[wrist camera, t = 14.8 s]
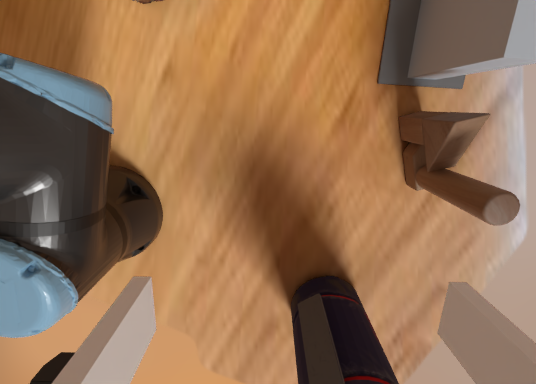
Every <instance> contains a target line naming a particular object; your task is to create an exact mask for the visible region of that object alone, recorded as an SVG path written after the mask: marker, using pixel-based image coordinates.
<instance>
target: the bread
mask: <svg viewBox="0 0 536 384" xmlns="http://www.w3.org/2000/svg"><path fill="white" fill-rule="evenodd" d="M133 1H134V0H133ZM136 1H137V3H138V2H140V3H143V4H146V3H151V2H152V1H163V0H136Z"/></svg>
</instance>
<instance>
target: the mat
mask: <svg viewBox="0 0 536 384" xmlns="http://www.w3.org/2000/svg"><path fill="white" fill-rule="evenodd" d="M420 5H421V0H390V6H389V12H388V19H387V25H386V31H385V38H384V44H383V51H382V57H381V64H380V70H379V76H378V84H393V85H409V86H424V87H439V88H454V89H462V88H463V84H464V79H465V75H461V76H455V77H448V78H442V79H436V80H433V79H418V78H407V77H408V71H409V66H410V60H411V54H412V49H413V43H414V38H415V32H416V27H417V21H418V16H419V10H420Z"/></svg>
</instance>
